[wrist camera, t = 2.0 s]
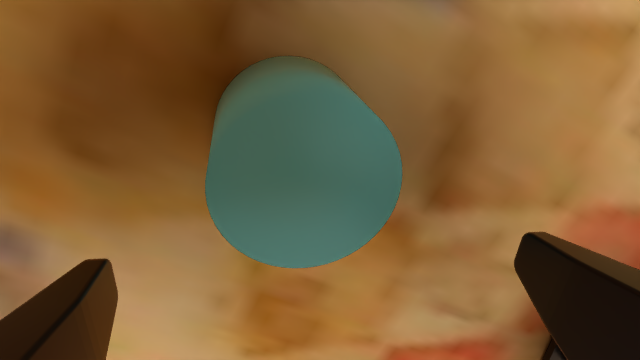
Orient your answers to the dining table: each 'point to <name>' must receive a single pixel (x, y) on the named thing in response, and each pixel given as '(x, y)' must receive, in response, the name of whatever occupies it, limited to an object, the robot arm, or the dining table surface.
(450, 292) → the dining table surface
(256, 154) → the teal drum
